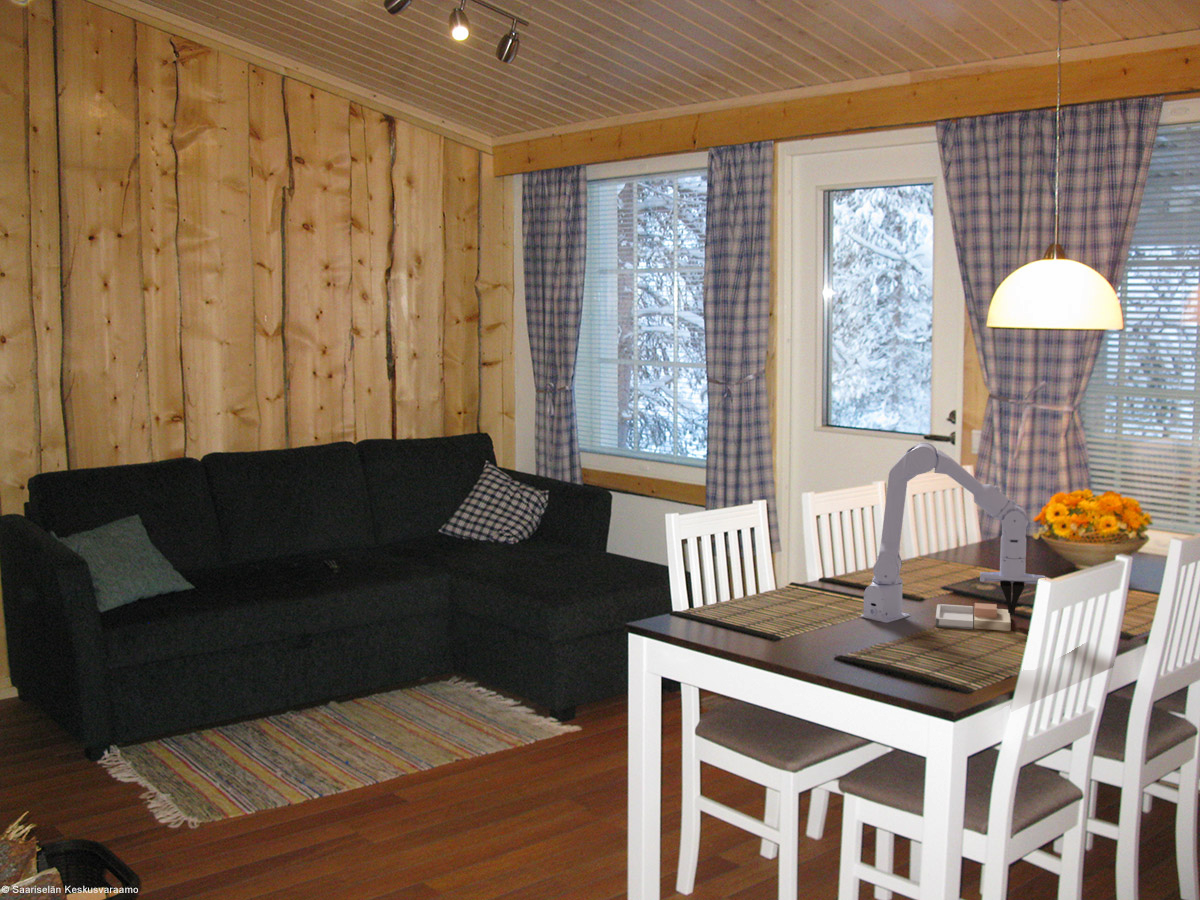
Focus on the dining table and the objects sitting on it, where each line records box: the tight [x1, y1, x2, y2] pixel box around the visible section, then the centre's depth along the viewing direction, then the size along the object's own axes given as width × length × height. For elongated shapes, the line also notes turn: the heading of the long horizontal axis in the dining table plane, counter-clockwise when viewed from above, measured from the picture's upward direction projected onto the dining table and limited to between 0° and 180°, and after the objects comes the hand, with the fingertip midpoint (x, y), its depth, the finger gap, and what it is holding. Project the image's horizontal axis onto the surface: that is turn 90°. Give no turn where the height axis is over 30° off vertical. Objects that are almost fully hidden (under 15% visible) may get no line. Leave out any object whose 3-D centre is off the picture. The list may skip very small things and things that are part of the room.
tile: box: [973, 602, 998, 618], centre depth 266 cm, size 5×5×2 cm
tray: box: [935, 603, 974, 630], centre depth 269 cm, size 8×14×2 cm, turn 162°
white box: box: [973, 606, 1012, 632], centre depth 266 cm, size 8×12×2 cm, turn 162°
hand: (1011, 612), depth 264 cm, fingers closed
